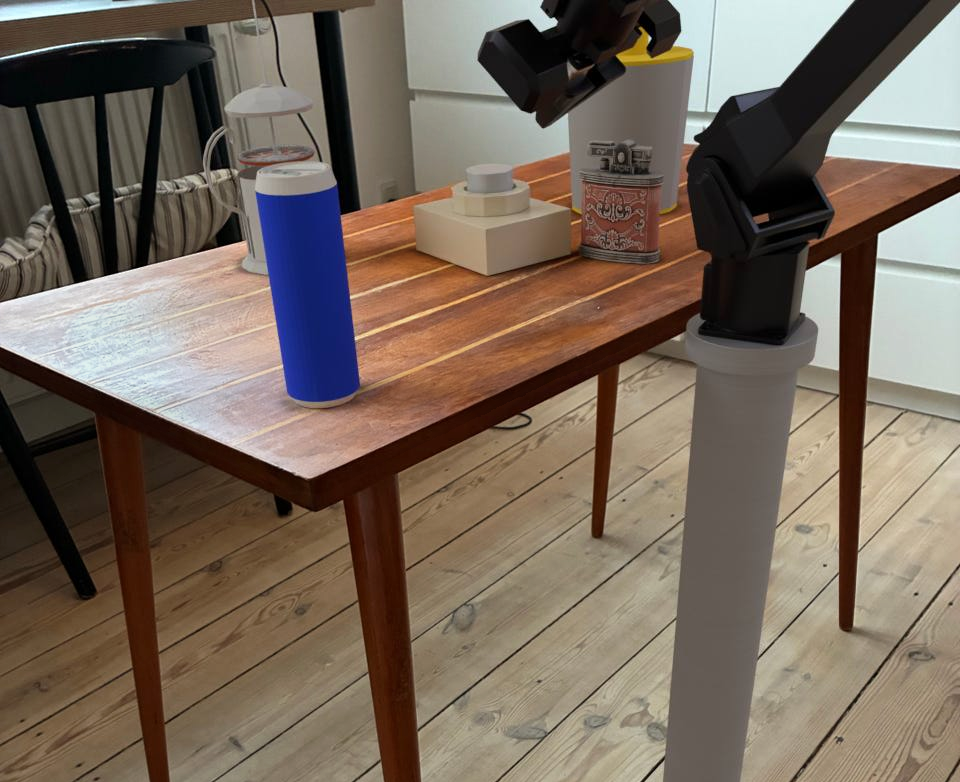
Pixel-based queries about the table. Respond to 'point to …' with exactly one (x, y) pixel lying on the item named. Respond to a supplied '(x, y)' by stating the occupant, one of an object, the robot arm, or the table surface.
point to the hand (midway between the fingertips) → (541, 123)
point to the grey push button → (489, 178)
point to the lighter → (620, 204)
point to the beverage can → (308, 281)
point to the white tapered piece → (637, 116)
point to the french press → (259, 154)
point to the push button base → (493, 229)
